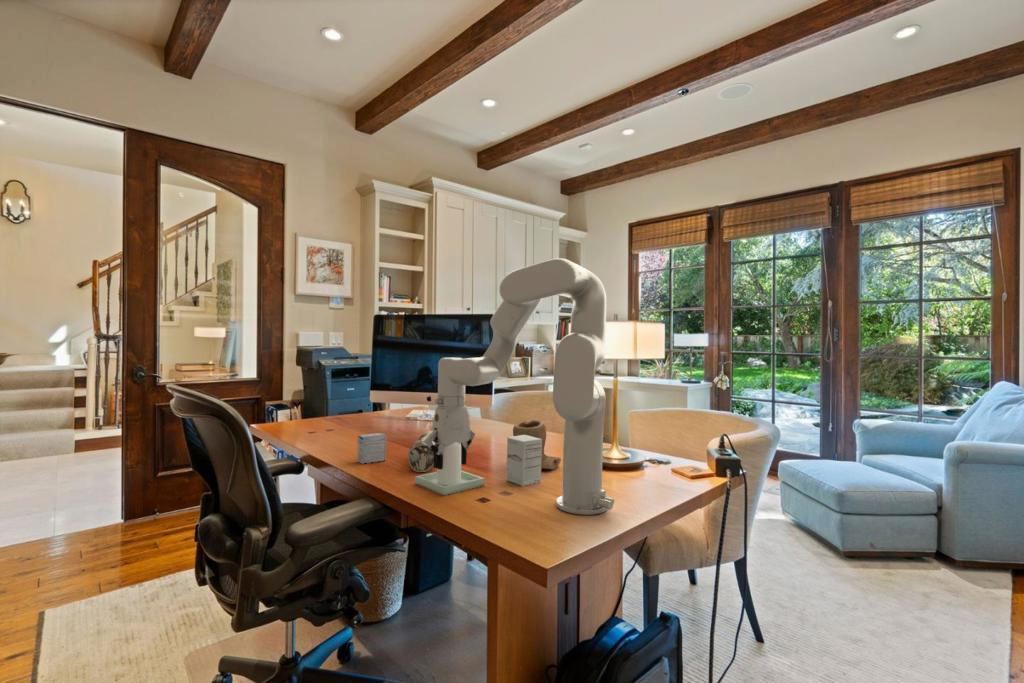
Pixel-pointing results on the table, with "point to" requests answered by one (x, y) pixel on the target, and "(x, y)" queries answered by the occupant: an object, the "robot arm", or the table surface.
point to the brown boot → (538, 431)
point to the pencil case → (421, 455)
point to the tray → (466, 483)
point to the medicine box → (371, 448)
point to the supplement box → (524, 459)
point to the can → (450, 465)
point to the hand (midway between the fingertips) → (450, 465)
